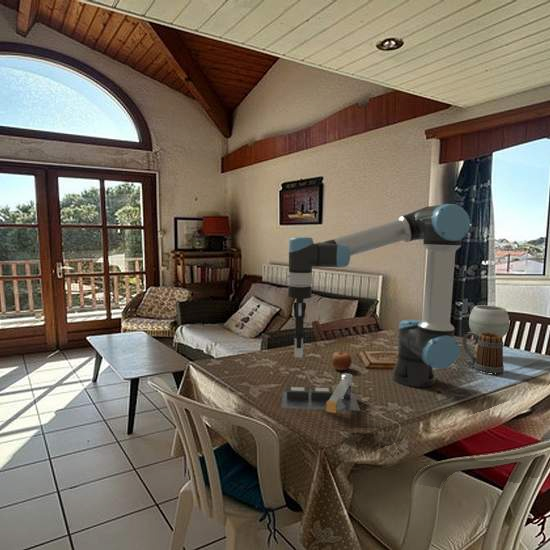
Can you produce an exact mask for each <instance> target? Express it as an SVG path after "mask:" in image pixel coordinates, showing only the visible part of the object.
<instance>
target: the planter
mask: <svg viewBox="0 0 550 550" xmlns="http://www.w3.org/2000/svg"><path fill="white" fill-rule="evenodd" d="M468 318H469V319H468V326H469V329H470V332H474V333H476V334H477V335H478V336H479V334H480V333H490V334H491V333H495V334H499V335H502V337H503V338H504V337H505V336H506V335H507V334H508V332H509V329H510V317H509V314H508V311H507V309H506V308H504V307H501V306H495V305H485V304H483V305H482V304H481V305H480V304H479V305H475V306H473V308H472V310H471V311H470V314H469V317H468ZM477 347H478V343H477V344H476V345H475V349H474V352H475V351H477Z"/></svg>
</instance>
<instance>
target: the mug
mask: <svg viewBox="0 0 550 550" xmlns="http://www.w3.org/2000/svg"><path fill="white" fill-rule="evenodd" d="M470 335H471V336H473V337H474V339H475V341H474V342H473V345H474V346H476V344H477V343H478V347H477V352H476V353H475V354H476V356H474V354H473V353H472V352H471V351H470V349H469V347H468V344H467V338H468V336H470ZM503 339H504V337H502V335H499V334H495V333H491V334H490V333H480V334H479V336H478V335H477V334H476V333H474V332H472V331H469V332H467V333H465V334H463V337H462V346H463V350H464V351H465V352H466V354H467V355H468V356H469V357H470V359H471V360H469V359H468V360H466V363H467V365H469V366H470V367H471V366H474V370H475V369H477V370H478V371H482V372H485V373H492V374H495V373H496V374H500V373H502V374H503V373H504V369H505V368H504V367H505V366H504V350H503V349H504V348H503V347H504V341H503ZM477 370H476V371H477ZM478 371H477V372H478ZM500 375H501V374H500Z"/></svg>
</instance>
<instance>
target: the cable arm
mask: <svg viewBox="0 0 550 550" xmlns="http://www.w3.org/2000/svg"><path fill="white" fill-rule="evenodd" d="M350 386H351V387H352V386H353V374H351V373H348V372H344V373H341V377H340V381H339V382H338V384H337V385H336V387H335V389H334V390H333V394H332V396H331V397H330V399H329V400H328V401H327V402H326V410H325V412H327V413H333V414H336V413H337V412H338V410H337V408H338V406H339V404H340V402H341V400H342V398H343V396H344V394H345V392H346V391H347V389H348V387H350Z"/></svg>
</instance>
